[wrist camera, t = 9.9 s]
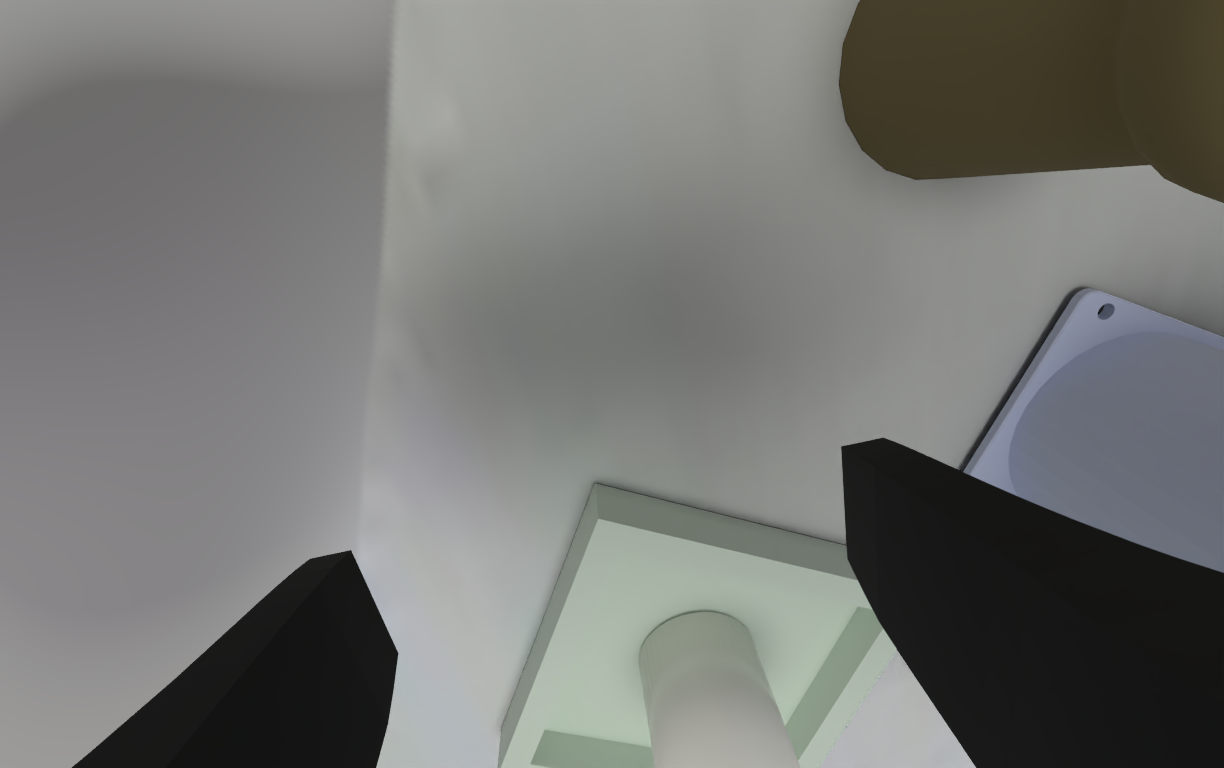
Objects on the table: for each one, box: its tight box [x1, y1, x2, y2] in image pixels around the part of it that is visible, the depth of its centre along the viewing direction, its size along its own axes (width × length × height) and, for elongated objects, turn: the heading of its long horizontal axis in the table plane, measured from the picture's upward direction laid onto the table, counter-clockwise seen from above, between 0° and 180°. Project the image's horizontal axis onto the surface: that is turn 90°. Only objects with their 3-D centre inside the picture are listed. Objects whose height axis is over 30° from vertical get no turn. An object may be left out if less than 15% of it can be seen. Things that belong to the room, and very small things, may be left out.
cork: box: [839, 0, 1224, 203], centre depth 12 cm, size 6×6×11 cm
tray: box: [498, 483, 897, 768], centre depth 23 cm, size 12×12×2 cm
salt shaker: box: [638, 612, 801, 768], centre depth 20 cm, size 4×4×7 cm
